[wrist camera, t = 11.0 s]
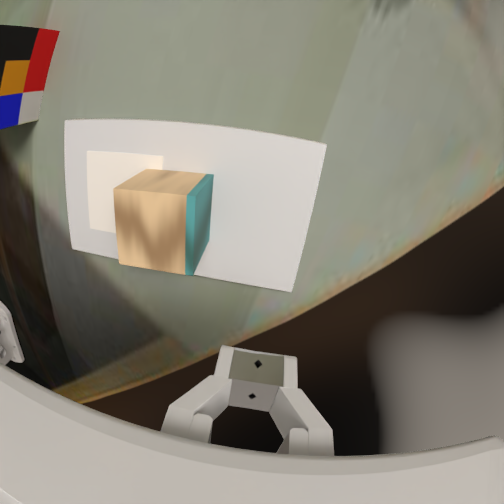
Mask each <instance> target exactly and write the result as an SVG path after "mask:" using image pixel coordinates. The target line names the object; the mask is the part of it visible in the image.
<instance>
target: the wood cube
mask: <svg viewBox="0 0 504 504" xmlns="http://www.w3.org/2000/svg"><path fill="white" fill-rule="evenodd" d="M213 179H214V174H204V173H194V172H183V171H171V170H158V169H145V170H143V171H142V172H140V173H138V174H136V175H135V176H133V177H131V178H130V179H128V180H126V181H125V182H123V183H122V184H120V185H118V186H117V187H115V188H113V194H114V212H115V226H116V237H117V247H118V257H119V264H123V265H129V266H135V267H141V268H147V269H153V270H159V271H165V272H171V273H178V274H184V275H190V276H193V275H194V273H195V270H196V268H197V266H198V264H199V262H200V259H201V257H202V255H203V253H204V251H205V248H206V246H207V244H208V242H209V237H210V221H211V206H212V192H213Z"/></svg>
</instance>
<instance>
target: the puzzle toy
mask: <svg viewBox="0 0 504 504" xmlns="http://www.w3.org/2000/svg"><path fill="white" fill-rule="evenodd" d="M59 32H60V31H55V30H48V29H41V28H33V27H23V26H11V25H0V130H1V129H4V128H8V127H12V126H16V125H20V124H24V123H28V122H32V121H37V120H39V114H40V108H41V102H42V97H43V92H44V87H45V83H46V78H47V74H48V70H49V66H50V62H51V58H52V55H53V51H54V48H55V44H56V41H57V38H58V35H59Z"/></svg>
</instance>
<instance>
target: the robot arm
mask: <svg viewBox="0 0 504 504" xmlns="http://www.w3.org/2000/svg"><path fill="white" fill-rule="evenodd" d="M10 360H12V361H15V362H19V363H21V362H23V361H24V360H25V359H24V356H23V353H22V350H21V347H20V344H19V340H18V337H17V334H16V330H15V327H14V323H13V320H12V316H11V313H10V311H9V310H8V309H7V307H6V306H5V305H4V304H3V303H2V302H1V301H0V504H504V440H502V439H501V438H500V437H498V436H489V437H485V438H482V439H478V440H474V441H469V442H465V443H461V444H456V445H451V446H446V447H440V448H434V449H428V450H421V451H414V452H405V453H396V454H384V455H370V456H369V455H368V456H334V448H333V434H332V429H331V427H330V426H329V425H328V423H327V422H326V421H325V420H324V418H323V417H322V416H321V414H320V413H319V412H318V411H317V409H316V408H315V407H314V405H313V404H312V403H311V402H310V400H309V399H308V398H307V396H306V395H305V394H304V392H303V391H302V390H301V389H297V358H296V357H293V356H286V355H284V356H283V355H279V354H271V353H264V352H256V351H251V350H246V349H241V348H234V347H230V346H225V345H222V346H221V348H220V352H219V356H218V360H217V364H216V369H215V373H214V376H213V375H210V376H208V377H207V378H206V379H204V380H203V381H202V382H200V383H199V384H198V385H196V386H195V387H194V388H192V389H191V390H190V391H188V392H187V393H186V394H184V395H183V396H182V397H180V398H179V399H177V400H176V401H175V402H173V403H172V404H170V405H169V408H168V411H167V414H166V416H165V419H164V422H163V425H162V429H161V431H160V432H159V431H155V430H152V429H149V428H145V427H142V426H138V425H135V424H132V423H130V422H126V421H124V420H121V419H118V418H115V417H112V416H109V415H107V414H104V413H101V412H99V411H96V410H94V409H91V408H89V407H86V406H84V405H82V404H79V403H77V402H75V401H72V400H70V399H68V398H66V397H64V396H61V395H59V394H57V393H55V392H53V391H51V390H49V389H47V388H45V387H43V386H41V385H39V384H37V383H35V382H33V381H31V380H30V379H28V378H26V377H24V376H22V375H21V374H19V373H17V372H15V371H14V370H12V369H10V368H9V367H7V366H5V365H6V364H7V363H8V362H9V361H10ZM228 405H230V406H237V407H244V408H251V409H256V410H262V411H269V412H270V415H271V416H272V418H273V420H274V422H275V424H276V426H277V427H278V429H279V431H280V433H281V435H282V436H283V438H284V441H283V443H282V445H281V446H280V448H279V450H278V451H277V453H268V452H259V451H252V450H244V449H238V448H231V447H226V446H219V445H214V444H210V439H211V430H212V421H213V420H214V419H215V418H216V417H217V416H218V415H219V414H220V413H221V412H222V411H223V410H224V409H226V407H227V406H228Z"/></svg>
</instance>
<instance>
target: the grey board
mask: <svg viewBox="0 0 504 504" xmlns="http://www.w3.org/2000/svg"><path fill="white" fill-rule="evenodd" d="M326 146H327V145H326V144H325V143H322V142H317V141H312V140H307V139H303V138H298V137H292V136H287V135H281V134H276V133H270V132H264V131H258V130H251V129H244V128H237V127H229V126H221V125H212V124H203V123H192V122H181V121H167V120H148V119H70V120H65V182H66V197H67V209H68V219H69V228H70V236H71V243H72V249H75V250H80V251H84V252H88V253H93V254H97V255H102V256H106V257H111V258H115V259H119V257H118V247H117V237H116V226H115V212H114V194H113V188H115V187H117V186H118V185H120V184H122V183H123V182H125V181H126V180H128V179H130V178H131V177H133V176H135V175H136V174H138V173H140V172H142V171H143V170H145V169H158V170H171V171H183V172H194V173H204V174H214V179H213V192H212V206H211V221H210V237H209V242H208V244H207V246H206V248H205V251H204V253H203V255H202V257H201V259H200V262H199V264H198V266H197V268H196V270H195V273H194V275H199V276H204V277H209V278H215V279H220V280H225V281H231V282H236V283H242V284H247V285H253V286H259V287H264V288H270V289H276V290H282V291H288V292H292V289H293V285H294V281H295V278H296V274H297V270H298V266H299V262H300V259H301V255H302V251H303V247H304V243H305V239H306V235H307V231H308V226H309V222H310V218H311V214H312V210H313V205H314V201H315V197H316V192H317V188H318V184H319V179H320V175H321V170H322V165H323V161H324V156H325V151H326Z"/></svg>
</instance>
